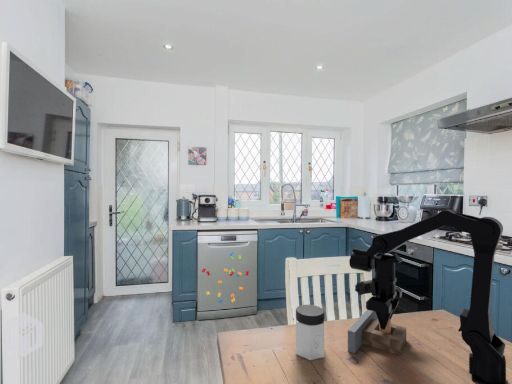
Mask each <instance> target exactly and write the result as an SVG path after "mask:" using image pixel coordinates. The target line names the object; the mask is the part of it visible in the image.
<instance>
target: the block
mask: <svg viewBox="0 0 512 384" xmlns="http://www.w3.org/2000/svg"><path fill="white" fill-rule="evenodd" d="M406 342H407V327H405V326H401V325H397V324H393V323H391V334H388V333H384V332H381V331H379V321H378V320H375V319H372V320H371V321H370V323H369V324H368V325H367V326H366V327H365V329H364V330H363V343H362V345H367V346H369V347H373V348H376V349H379V350H383V351H385V352H389V353H391V354H395V355H398V356H400V354H401V353H402V351H403V349H404V346H405V344H406Z"/></svg>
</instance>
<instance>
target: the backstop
mask: <svg viewBox="0 0 512 384" xmlns="http://www.w3.org/2000/svg"><path fill="white" fill-rule="evenodd" d="M372 319H375V320H378V318H377V315H376V312H375V311H371V310H367V309H366V310H365V311H364V312H363V313H362V314H361V316H359V318H358V319H357V320H356V321H355V322H354V323H353V324H352V325H351V326H350V327H349V328H348V329H347V352H349V353H353V354H356V353H357V351H359V349H360V348H361V347H362V345H363V330H364V329H365V327H366V326H367V325H368V324H369V323H370V321H371V320H372Z"/></svg>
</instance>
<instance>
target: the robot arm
mask: <svg viewBox="0 0 512 384" xmlns="http://www.w3.org/2000/svg"><path fill="white" fill-rule="evenodd" d="M446 226H447V227H450V228H452V229H455V230H457V231H461V232H463V233H467V234H470V240H471V245H472V250H473V255H474V257H473V266H472V268H473V269H472V278H471V279H472V280H471V288H470V289H471V290H470V292H471V293H470V305H469V309H466V308H464V309H463V310H462V312H460V315H459V321H460V322H459V323H460V324H459V325H460V326H459V328H458V330H457V331H458V332H461V334H460V335H461V339H462V341H464V343H465V344H466V345H467V346H468V347H469V348H470V351H471V352H469V354H468V361H469V362H468V366H469V367H468V368H469V369H468V370H469V371H468V372H469V374H470V375H471V381H472V382H475V383H477V384H507V359H506V356H505V355H504V353H505V348H506V343H505V342H504V341H503V340H502V339H501V338H500V337H499V336H498V335H497V334H496V333H495V329H494V323H493V321H494V320H493V317H492V313H491V300H492V290H493V289H492V288H493V287H492V286H493V275H494V265H495V264H494V263H495V262H494V261H495V255H496V253H497V249H498V246H499V244H500V241H501V237H502V235H503V231H504V226H503V224H502V222H500V221H499V220H498V218H495V217H491V216H483V217H482V216H481V217H478V216H474V215H470V214H465V213H460V212H457V211H454V210H452V209H444V210H440V211H438V213H436V214H433V215H431V216H429V217H427V218H424V219H422V220H419V221H417V222H415V223H413V224H411V225H409V226H406V227H404V228H402V229H398V230H394V231H390V232H389V231H388V232H386V233H381V234H378V235H376V236H374V237H373V238H372V241H371V245H370V247H369V248H368V249H367V250H366V249H360V248H359V247H358V248H357V247H356V248H353V249H352V252H351V255H350V256H349V261H348V263H349V267H350V268H351V269H353V270H356V271H357V270H358V271H363V272H368V273H370V272H372V270H374V277H373V278H372V279H371V280H370V279H369V280H363V281H357V282H356V284H355V286H354V287H355V288H354V291H355V292H357V294H358V296H362V295H365V294H366V295H367V294H371V297H369V299H367V301H365V309H366V310H371V311H375V312H376V315H377V318H378V321H379V324H380V328H381V329H383V330H385V328H386V326H387V323H388V321H389V319H390V320H392V317H393V316H394V313H395V312H396V308H397V307H398V304H399V303H400V299H401V298H402V297H403V290H402V288H400V286H396V283H397V281H398V280H397V279H398V278H397V277H396V264H400V263H402V262H403V261H404V260H403V258H402V257H400V256H399V255H398V253H394V254H392V255H391V254H388V253H390V252H391V253H392V252H393V251H395V250H397V249H398V248H400V247H401V246H403V245H405V244H406V243H407V242H409V241H410V240H413V239H415V238H418V237H421V236H423V235H425V234H428V233H431V232H433V231H435V230H436V231H437V229H441V228H443V227H446ZM379 254H380V255H381V256H380V255H379ZM378 255H379V256H378ZM396 296H397V297H398V298H396Z"/></svg>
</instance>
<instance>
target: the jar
mask: <svg viewBox="0 0 512 384" xmlns="http://www.w3.org/2000/svg"><path fill="white" fill-rule="evenodd" d="M325 316H326V315H325V310H324V308H322V307H321V306H317V305H315V304H314V305H313V304H301V305H299V306H297V307H296V308H295V355H297V356H299V357H302V358H304V359H305V360H308V361H314V360H317V359H322V358H325Z"/></svg>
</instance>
